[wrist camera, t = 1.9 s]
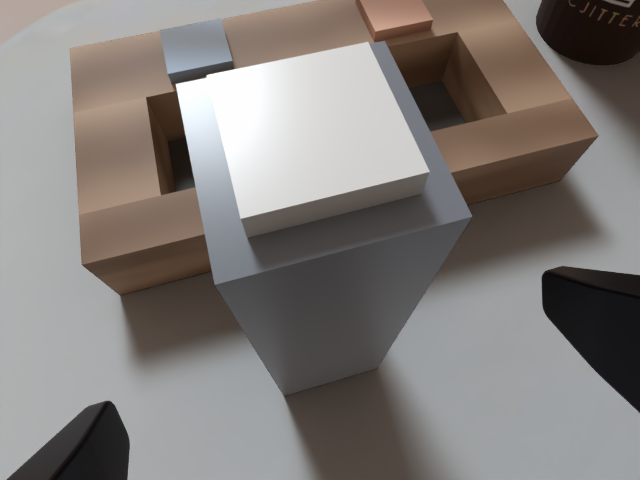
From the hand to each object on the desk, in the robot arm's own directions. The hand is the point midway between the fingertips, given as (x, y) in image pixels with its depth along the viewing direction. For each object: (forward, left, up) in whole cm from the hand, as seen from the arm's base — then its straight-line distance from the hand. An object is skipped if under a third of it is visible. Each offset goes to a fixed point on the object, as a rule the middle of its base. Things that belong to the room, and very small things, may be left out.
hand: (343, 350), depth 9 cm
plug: (+1, +3, -10) cm, 10 cm away
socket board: (+8, +11, -10) cm, 17 cm away
